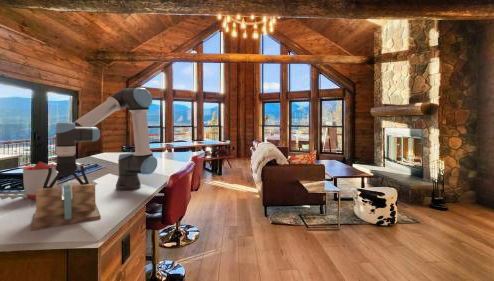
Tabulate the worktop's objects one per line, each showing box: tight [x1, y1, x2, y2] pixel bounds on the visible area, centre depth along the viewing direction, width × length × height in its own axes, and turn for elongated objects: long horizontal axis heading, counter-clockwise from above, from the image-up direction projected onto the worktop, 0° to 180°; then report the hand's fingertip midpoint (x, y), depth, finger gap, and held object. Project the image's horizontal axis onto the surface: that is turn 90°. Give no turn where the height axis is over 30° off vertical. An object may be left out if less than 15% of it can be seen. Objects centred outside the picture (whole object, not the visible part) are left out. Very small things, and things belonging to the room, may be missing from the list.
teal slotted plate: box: [63, 181, 72, 220], centre depth 119 cm, size 2×20×12 cm, turn 35°
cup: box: [60, 179, 85, 199], centre depth 144 cm, size 8×12×10 cm
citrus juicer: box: [22, 161, 58, 200], centre depth 149 cm, size 16×17×20 cm
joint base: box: [30, 183, 102, 231], centre depth 119 cm, size 24×24×14 cm
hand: (67, 201), depth 124 cm, fingers open, 10 cm apart
